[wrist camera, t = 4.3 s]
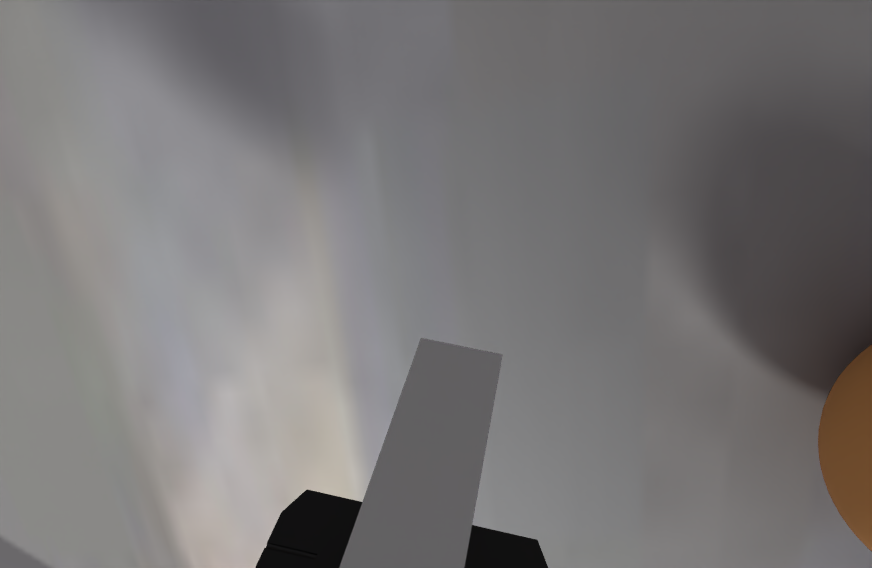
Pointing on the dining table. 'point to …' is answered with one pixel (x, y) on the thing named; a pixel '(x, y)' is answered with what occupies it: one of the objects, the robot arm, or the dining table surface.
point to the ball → (850, 445)
